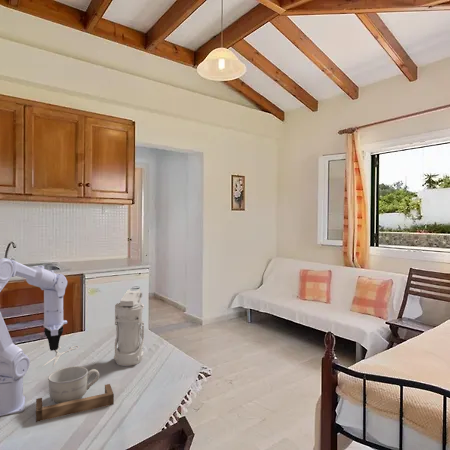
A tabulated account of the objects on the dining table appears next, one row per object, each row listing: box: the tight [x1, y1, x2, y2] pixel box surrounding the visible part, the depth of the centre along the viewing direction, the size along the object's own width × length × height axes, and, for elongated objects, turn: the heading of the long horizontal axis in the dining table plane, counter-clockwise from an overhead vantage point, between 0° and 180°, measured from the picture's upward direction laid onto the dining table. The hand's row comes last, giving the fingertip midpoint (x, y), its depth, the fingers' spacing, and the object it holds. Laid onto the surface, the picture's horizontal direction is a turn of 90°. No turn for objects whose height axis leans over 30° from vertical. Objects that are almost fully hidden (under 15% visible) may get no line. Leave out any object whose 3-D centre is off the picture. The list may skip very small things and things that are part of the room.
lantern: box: [113, 288, 145, 367], centre depth 133 cm, size 13×10×25 cm
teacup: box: [47, 365, 100, 404], centre depth 106 cm, size 14×11×8 cm
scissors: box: [42, 345, 80, 367], centre depth 135 cm, size 11×1×20 cm
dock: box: [35, 383, 115, 423], centre depth 102 cm, size 20×7×3 cm, turn 117°
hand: (53, 349), depth 118 cm, fingers closed
